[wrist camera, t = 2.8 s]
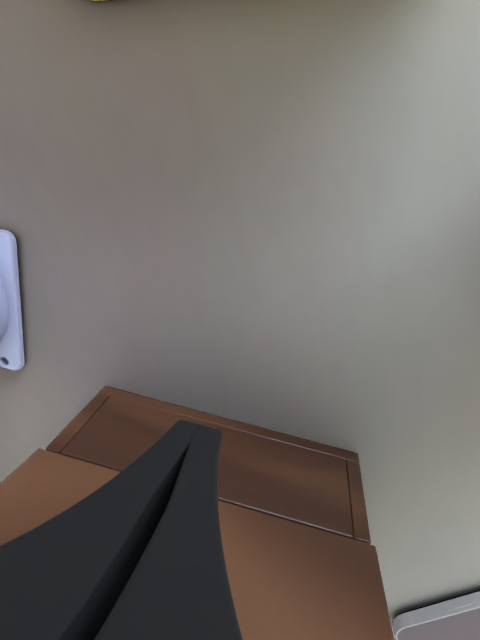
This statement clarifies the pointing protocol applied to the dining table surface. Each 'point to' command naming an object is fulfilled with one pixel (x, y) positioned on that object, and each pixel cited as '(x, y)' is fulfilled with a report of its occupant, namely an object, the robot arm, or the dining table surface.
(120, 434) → the box
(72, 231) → the dining table surface
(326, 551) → the lid
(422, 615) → the smartphone
